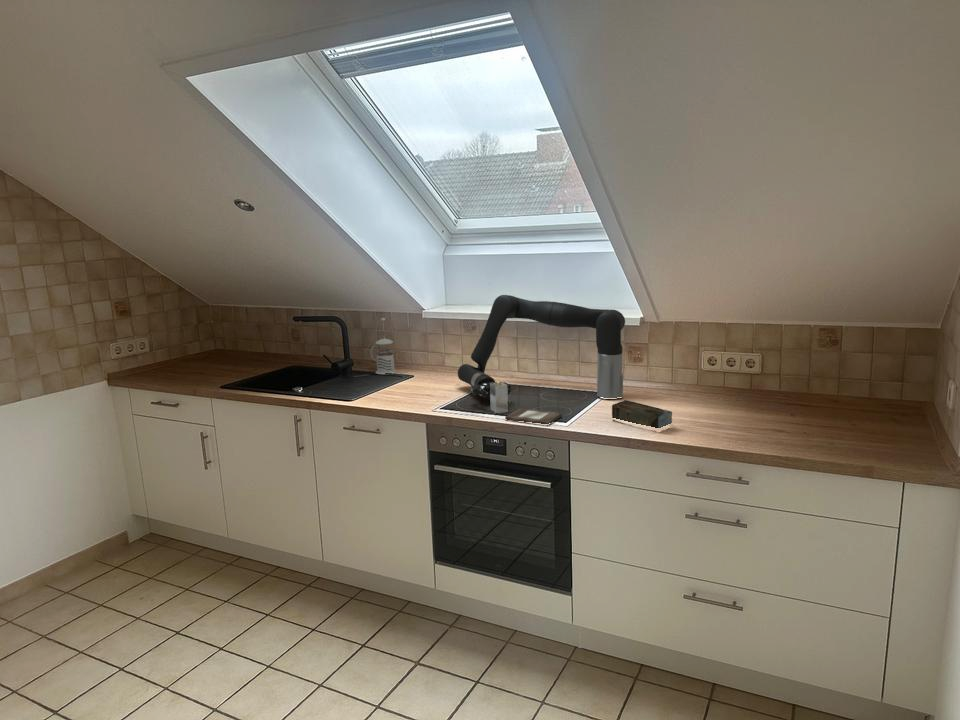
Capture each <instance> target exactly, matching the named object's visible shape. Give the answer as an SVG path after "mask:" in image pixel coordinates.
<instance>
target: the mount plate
mask: <svg viewBox="0 0 960 720" xmlns="http://www.w3.org/2000/svg"><path fill="white" fill-rule="evenodd" d="M562 415H563V414H562V413H561V412H555V411H554V412H553V411H546V410H541V409H540V410H539V409H533V408H532V409H531V408H530V409H529V408H522V407H520V408H518V409H516V410H514V411H512V412H511V413H510V414H508V415H506V416H505V418H504V419H507V420H513V421H512V422H514V421H524V422H532V423H541V424H549V423H552V422H553V421H555V420H556V421H558V420H559V419H560V418H562V417H561V416H562ZM558 418H559V419H558ZM557 419H558V420H557ZM507 420H506V421H507ZM556 421H555V422H556ZM553 423H554V422H553ZM553 423H552V424H553Z"/></svg>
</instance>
